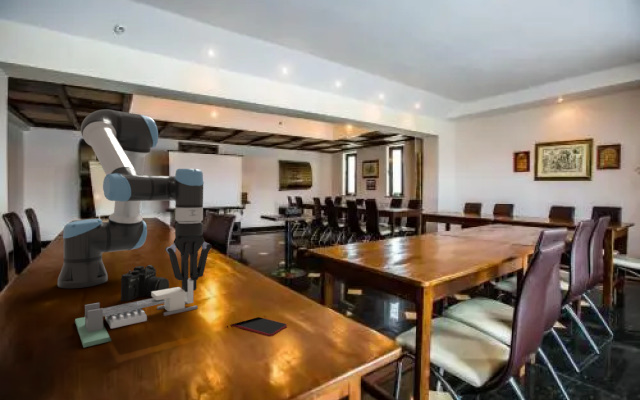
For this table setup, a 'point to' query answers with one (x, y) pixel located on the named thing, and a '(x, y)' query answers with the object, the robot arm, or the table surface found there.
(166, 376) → the table surface
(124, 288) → the camera
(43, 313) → the table surface
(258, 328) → the smartphone
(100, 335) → the heatsink board
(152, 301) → the grey board dark edge
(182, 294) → the white stepped block
